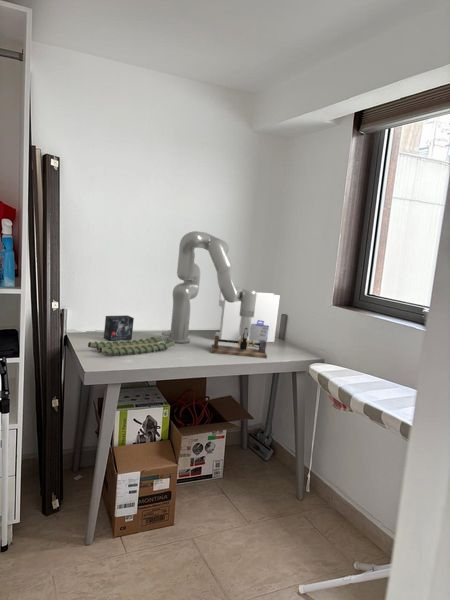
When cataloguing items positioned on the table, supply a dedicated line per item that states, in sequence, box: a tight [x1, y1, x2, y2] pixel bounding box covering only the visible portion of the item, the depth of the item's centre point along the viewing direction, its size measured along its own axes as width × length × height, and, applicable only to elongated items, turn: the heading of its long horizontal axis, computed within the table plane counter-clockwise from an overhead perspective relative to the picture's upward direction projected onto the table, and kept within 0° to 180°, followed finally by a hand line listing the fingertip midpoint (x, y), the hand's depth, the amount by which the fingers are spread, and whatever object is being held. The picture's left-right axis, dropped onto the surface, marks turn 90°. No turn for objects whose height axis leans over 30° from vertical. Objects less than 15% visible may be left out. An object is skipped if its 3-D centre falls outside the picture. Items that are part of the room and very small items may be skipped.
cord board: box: [211, 335, 268, 359], centre depth 240 cm, size 28×12×8 cm, turn 92°
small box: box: [103, 314, 135, 342], centre depth 241 cm, size 13×7×12 cm, turn 131°
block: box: [214, 290, 281, 343], centre depth 271 cm, size 35×8×28 cm, turn 114°
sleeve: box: [237, 338, 249, 348], centre depth 240 cm, size 5×4×4 cm
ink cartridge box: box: [248, 320, 269, 348], centre depth 259 cm, size 10×6×14 cm, turn 78°
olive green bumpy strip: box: [87, 335, 176, 357], centre depth 222 cm, size 41×14×5 cm, turn 133°
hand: (242, 347), depth 241 cm, fingers closed on sleeve, 3 cm apart
